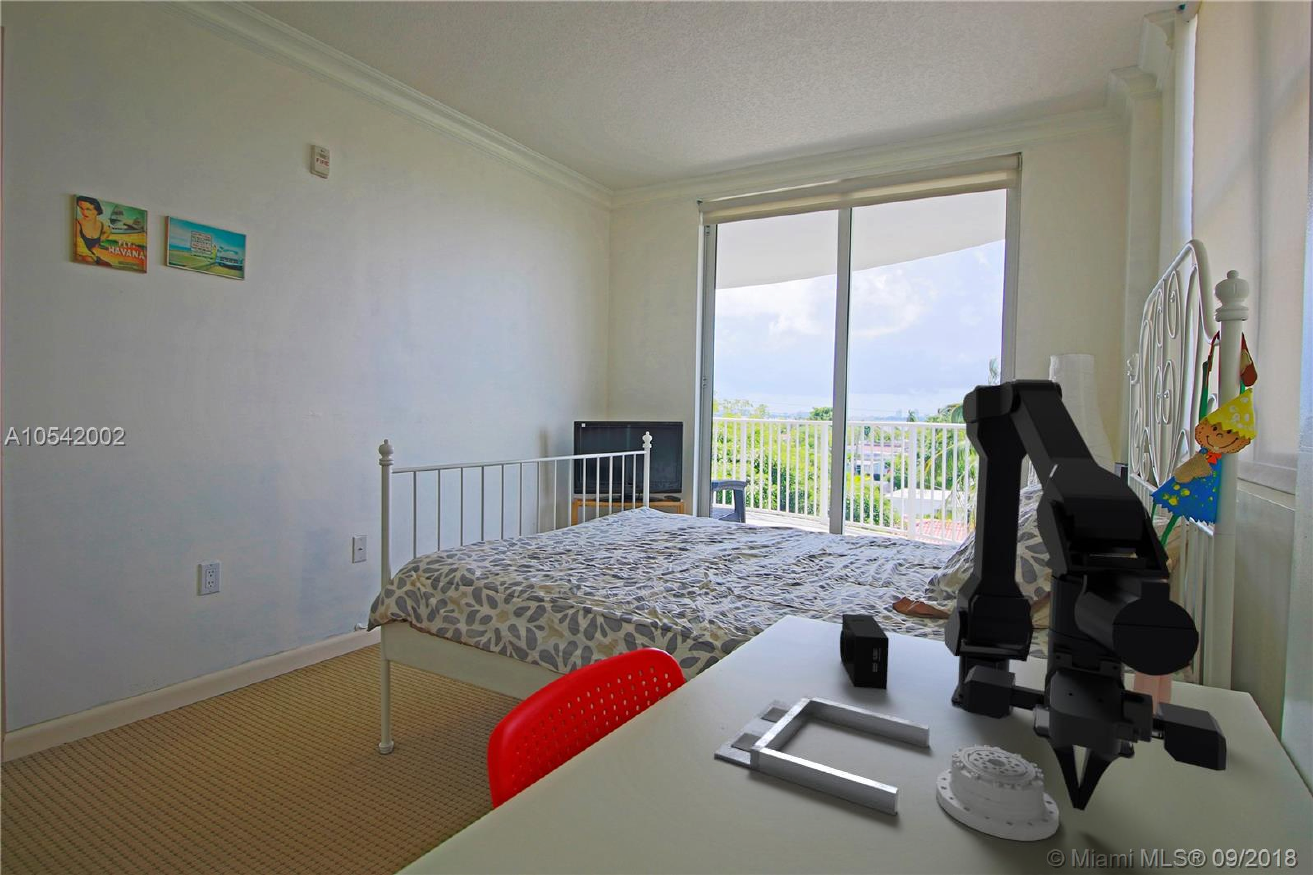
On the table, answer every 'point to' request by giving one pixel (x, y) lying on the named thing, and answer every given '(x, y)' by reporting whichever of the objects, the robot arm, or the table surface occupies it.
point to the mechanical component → (997, 794)
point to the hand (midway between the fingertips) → (1078, 807)
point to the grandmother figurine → (1159, 685)
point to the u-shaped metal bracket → (778, 725)
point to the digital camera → (864, 651)
